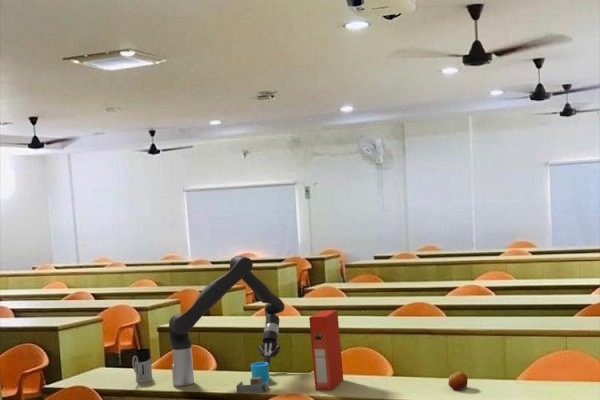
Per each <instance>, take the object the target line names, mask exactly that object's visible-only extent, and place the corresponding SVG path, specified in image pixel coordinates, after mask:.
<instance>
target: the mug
mask: <svg viewBox="0 0 600 400" xmlns="http://www.w3.org/2000/svg"><path fill="white" fill-rule="evenodd" d="M269 367H270V366H269V365H268V363H267V362H264V361H259V362H258V361H257V362H253V363H251V364H250V370H251V378H252V377H261V384H264V383H265V382H266V381H268V383H269V382H270V372H269V371H270V370H269Z"/></svg>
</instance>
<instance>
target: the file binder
mask: <svg viewBox="0 0 600 400" xmlns="http://www.w3.org/2000/svg"><path fill="white" fill-rule="evenodd" d="M338 312H339V311H338V309H332V310H329V309H327V310H320V311H318V312H317V313H315V314H312V315H311V316H309V318H308V319H309V330H310V341H311V353H312V366H313V376H314V377H313V379H314V387H315V391H333V390H334V389H335V388H336V387H337V386H339V384H340V383H341V382H342V381H344V370H343V361H342V360H343V359H342V349H341V347H342V346H341V337H340V326H339V316H338V315H339V313H338Z"/></svg>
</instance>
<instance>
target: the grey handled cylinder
mask: <svg viewBox="0 0 600 400" xmlns="http://www.w3.org/2000/svg"><path fill="white" fill-rule="evenodd" d="M131 363H132V369H133V371H134V373H135V381H136V382H135V383H146V381H148V382H151V381H153V380H154V377H153V368H152V358H151V349H150V348H140V349H139V348H138V349H136V350H134V356H133V357H132V362H131ZM152 379H153V380H152ZM150 380H151V381H150Z"/></svg>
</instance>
